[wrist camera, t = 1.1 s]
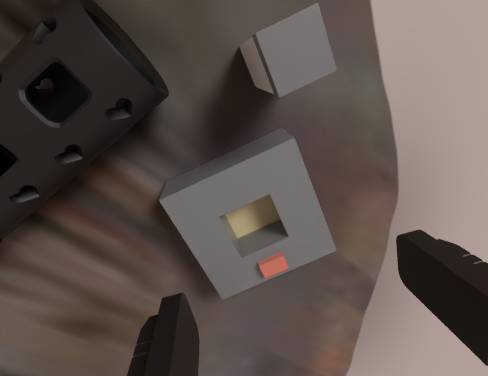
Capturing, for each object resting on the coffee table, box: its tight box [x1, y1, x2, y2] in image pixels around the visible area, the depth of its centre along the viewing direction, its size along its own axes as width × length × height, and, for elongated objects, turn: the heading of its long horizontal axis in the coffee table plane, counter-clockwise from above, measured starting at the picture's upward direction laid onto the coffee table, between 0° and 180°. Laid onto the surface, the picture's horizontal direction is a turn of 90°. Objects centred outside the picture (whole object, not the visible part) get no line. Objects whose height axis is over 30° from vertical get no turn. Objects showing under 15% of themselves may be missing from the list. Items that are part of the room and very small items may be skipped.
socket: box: [159, 128, 337, 299], centre depth 32 cm, size 14×14×6 cm
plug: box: [239, 3, 337, 98], centre depth 23 cm, size 4×4×11 cm
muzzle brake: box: [0, 0, 169, 243], centre depth 24 cm, size 10×28×10 cm, turn 128°
